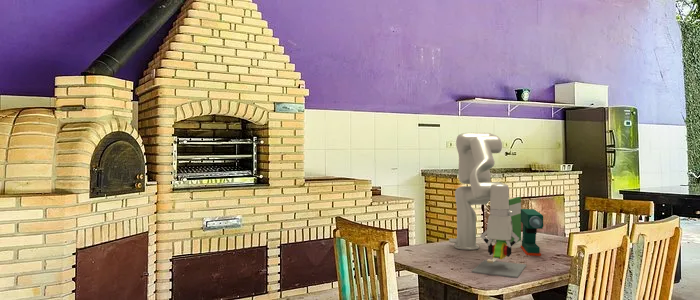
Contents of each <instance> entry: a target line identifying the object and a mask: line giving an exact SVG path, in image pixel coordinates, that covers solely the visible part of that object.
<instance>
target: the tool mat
mask: <svg viewBox="0 0 700 300" xmlns="http://www.w3.org/2000/svg"><path fill="white" fill-rule="evenodd" d="M487 260H488V259H483V260H482V261H481V262H480V263H479V264H478V265H477V266H475V267H474V268H473V269H472V270H471V273H472V274H473V273H474V274H480V273H481V275H488V274H489V276H496V275H498V277H504V278H514V279H518V278H519V277H520V275H521V274H522V273H523V271H524V270H525V268H526V267H527V264H524V263H515V262H506V261H498V260H496V261H494V262H493V263H488V262H487Z"/></svg>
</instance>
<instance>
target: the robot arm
mask: <svg viewBox="0 0 700 300" xmlns="http://www.w3.org/2000/svg"><path fill="white" fill-rule="evenodd" d="M455 146H456V150H457V153H458V180H459V182H460V183H462V184H464V185H465V184H466V185H465V186H464V185H463V186H459V187H457V188H456V189H455V192H454V198H455V205H456V238H451V237H449V238H448V241H449V243H452V244H454V245H453V248H455V249H456V250H463V251H475V250H476V251H477V250H479V249H480V245H478V244H477V214H476V211H475V209H474V208H473V207H472V206H475V205H476V206H479V205H480V206H482V205H488V203H489V205H490V206H489V209H490V211H489V212H490V214H489V215H488V219H487V226H486V230H485V231H484V232H483V233H481V234H480V238H481V240H483V241H484V243H486V244H487V245H486V246H487V248H488V249H487V251H488V252H487V253H489V254H488V255H489V256H493V252H492V247H493V245H494V244H492V243H493V241H496V240H503V241H506V243H507V246H508V247H507V256H506V257H507V258H508V257H511V256H512V247H513V246H514V245H515V244H516V243H517V241H518V240H519V237H518V236H517V235H516V234H515V233H514V232H513V227H512V220H511V216H509V215H510V214H512V211H510V210H509V198H510V188H509V185H508V184H506V183H503V182H501V181H500V182H499V181H497V182H496V181H495V182H494V181H491V169H492V168H493V167H494V166H495V160H494V155H493V154H500V153H501V151H502V148H503V141H502V140H501V138H500V137H499V136H498V135H496V134H493V133H490V132H463V133H461V134H458V135H457V136H456V141H455ZM513 237H514V238H515V239H514V241H512V242H511V241H510V240H511V239H512V238H513ZM518 242H519V241H518Z"/></svg>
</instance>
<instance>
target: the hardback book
mask: <svg viewBox="0 0 700 300" xmlns="http://www.w3.org/2000/svg"><path fill="white" fill-rule="evenodd" d="M521 209H522V196H517V197H509V210H510V211H512V214H510V215H509V216H511V220H512V227H513V232H514V233H515V234H516V235H517V236H518V237H519V240H518V241H517V242H519V241H522V222H521ZM514 239H515V238H514V237H513V238H512V239H511V240H510V241H511V242H512V241H514ZM495 241H496V242H504V243H506V241H503V240H495ZM496 242H495V243H496ZM517 242H516V243H517ZM506 244H507V243H506Z"/></svg>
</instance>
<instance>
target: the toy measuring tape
mask: <svg viewBox="0 0 700 300" xmlns="http://www.w3.org/2000/svg"><path fill="white" fill-rule="evenodd" d="M492 245H493V247H492V252H493V254H492V258H491V259H489V258H488V259H486V260H487V262H488V263H493V262H494V261H498V260H501V261H502V260H504V259H505V258H506V257H507V247H508V245H507V244H506V243H504V242H495V243H494V244H492Z"/></svg>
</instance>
